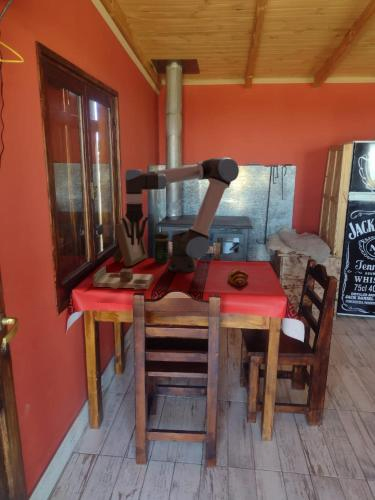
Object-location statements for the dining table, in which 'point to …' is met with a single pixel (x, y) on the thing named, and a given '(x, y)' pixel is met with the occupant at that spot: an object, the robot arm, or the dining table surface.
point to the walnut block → (126, 275)
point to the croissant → (238, 277)
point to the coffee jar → (162, 247)
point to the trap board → (107, 281)
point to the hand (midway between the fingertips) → (135, 251)
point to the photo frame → (129, 246)
